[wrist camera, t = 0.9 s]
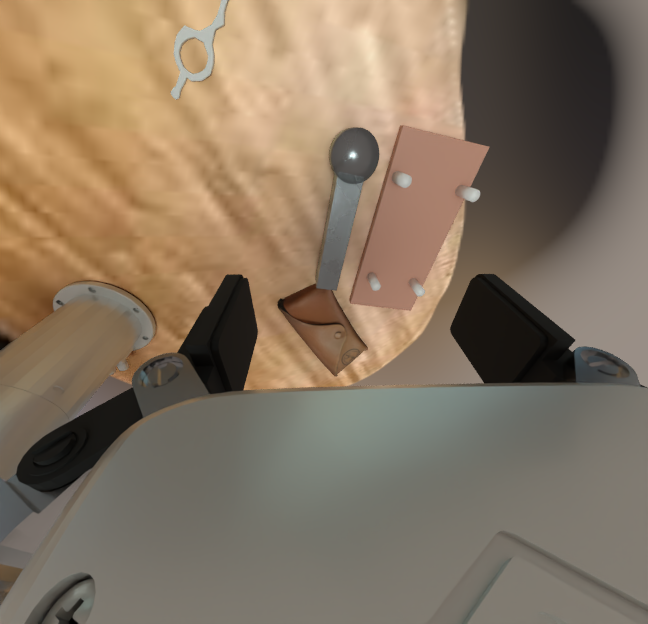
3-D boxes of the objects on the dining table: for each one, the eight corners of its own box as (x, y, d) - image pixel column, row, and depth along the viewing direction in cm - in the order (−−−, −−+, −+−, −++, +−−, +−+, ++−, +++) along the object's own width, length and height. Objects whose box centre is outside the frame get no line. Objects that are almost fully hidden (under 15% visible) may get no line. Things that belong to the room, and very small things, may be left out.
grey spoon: (340, 280, 36) (343, 291, 34) (308, 276, 35) (309, 287, 33) (378, 133, 26) (385, 133, 23) (333, 123, 25) (337, 122, 23)
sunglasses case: (372, 349, 45) (361, 382, 41) (340, 348, 49) (328, 377, 46) (325, 274, 35) (304, 307, 31) (290, 281, 40) (269, 311, 36)
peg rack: (408, 306, 40) (417, 322, 37) (349, 299, 38) (353, 315, 35) (483, 146, 27) (507, 148, 24) (400, 125, 26) (414, 124, 22)
